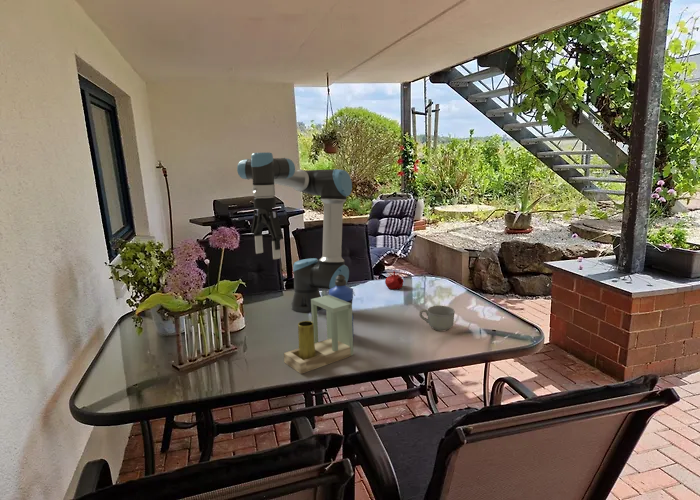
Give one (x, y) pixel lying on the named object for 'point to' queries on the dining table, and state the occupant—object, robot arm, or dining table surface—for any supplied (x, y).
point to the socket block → (317, 356)
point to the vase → (306, 340)
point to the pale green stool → (334, 320)
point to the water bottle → (342, 291)
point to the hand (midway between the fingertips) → (267, 255)
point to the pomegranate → (394, 281)
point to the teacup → (439, 317)
